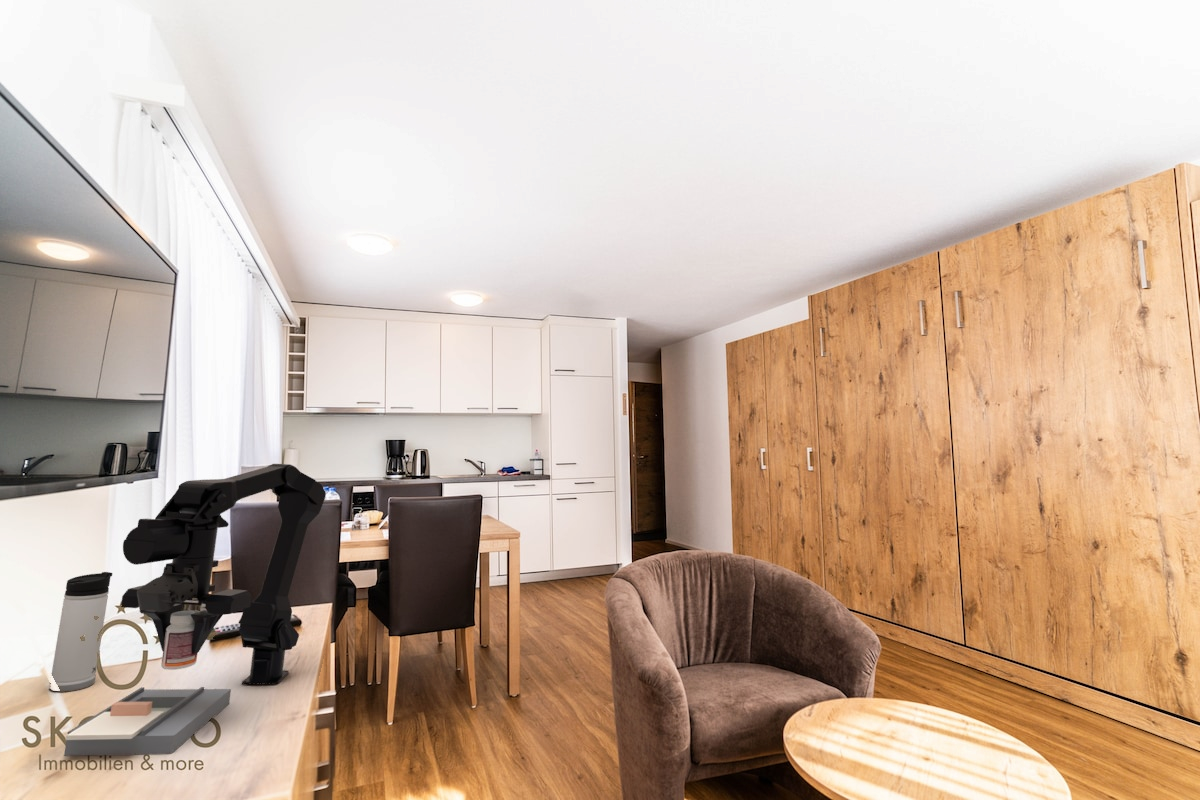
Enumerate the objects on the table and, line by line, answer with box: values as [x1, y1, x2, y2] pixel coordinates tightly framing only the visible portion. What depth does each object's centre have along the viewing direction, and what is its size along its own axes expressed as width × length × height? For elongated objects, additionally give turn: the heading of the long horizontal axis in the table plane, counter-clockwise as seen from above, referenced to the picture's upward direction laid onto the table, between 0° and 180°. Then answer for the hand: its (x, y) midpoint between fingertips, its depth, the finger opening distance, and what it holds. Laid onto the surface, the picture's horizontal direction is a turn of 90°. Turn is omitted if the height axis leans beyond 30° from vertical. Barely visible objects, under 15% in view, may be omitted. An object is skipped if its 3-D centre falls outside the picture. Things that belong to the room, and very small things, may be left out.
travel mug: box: [51, 571, 113, 693], centre depth 107 cm, size 6×7×20 cm
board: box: [63, 686, 232, 757], centre depth 92 cm, size 18×14×3 cm
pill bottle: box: [160, 609, 200, 671], centre depth 95 cm, size 5×5×8 cm
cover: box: [65, 701, 164, 741], centre depth 86 cm, size 8×8×2 cm
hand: (180, 652), depth 95 cm, fingers closed on pill bottle, 5 cm apart
